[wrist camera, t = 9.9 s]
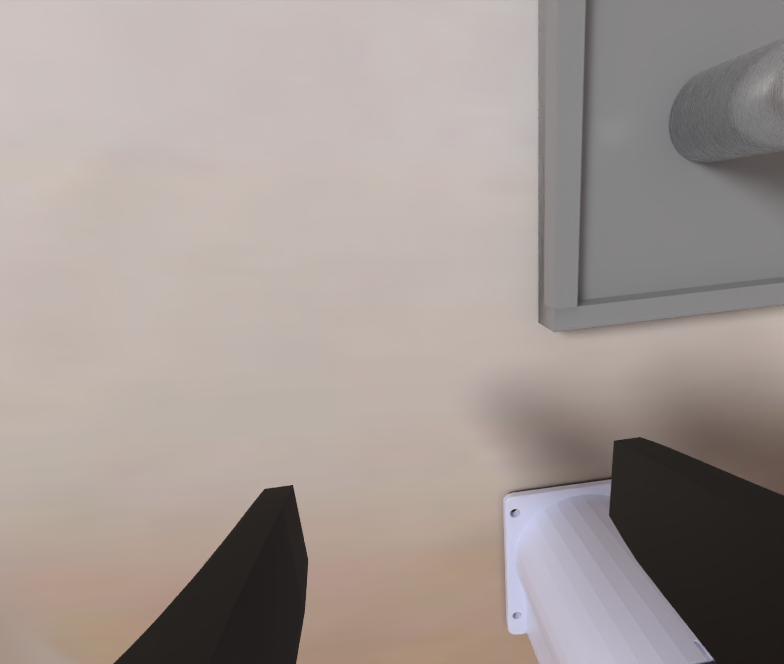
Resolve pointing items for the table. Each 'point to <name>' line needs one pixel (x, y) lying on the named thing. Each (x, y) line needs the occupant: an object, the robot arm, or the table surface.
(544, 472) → the table surface
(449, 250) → the table surface
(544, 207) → the tray
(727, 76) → the steel pin
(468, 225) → the table surface
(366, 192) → the table surface
